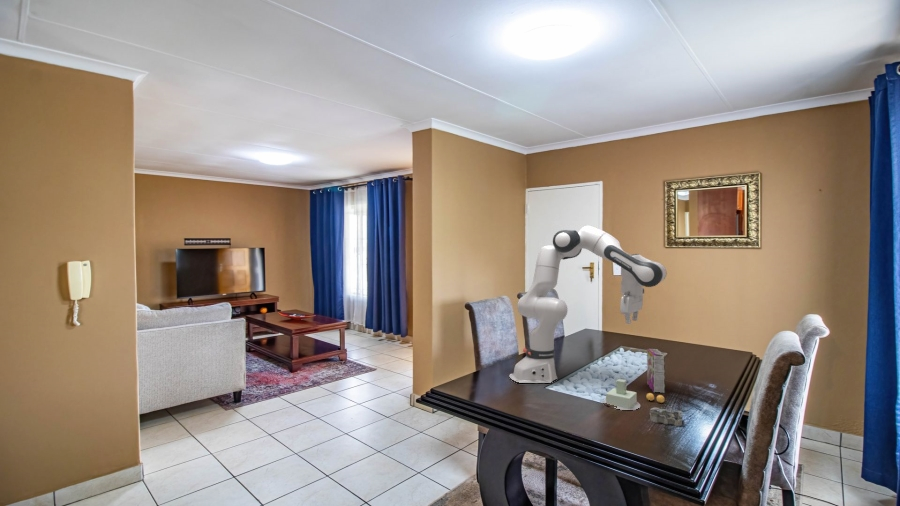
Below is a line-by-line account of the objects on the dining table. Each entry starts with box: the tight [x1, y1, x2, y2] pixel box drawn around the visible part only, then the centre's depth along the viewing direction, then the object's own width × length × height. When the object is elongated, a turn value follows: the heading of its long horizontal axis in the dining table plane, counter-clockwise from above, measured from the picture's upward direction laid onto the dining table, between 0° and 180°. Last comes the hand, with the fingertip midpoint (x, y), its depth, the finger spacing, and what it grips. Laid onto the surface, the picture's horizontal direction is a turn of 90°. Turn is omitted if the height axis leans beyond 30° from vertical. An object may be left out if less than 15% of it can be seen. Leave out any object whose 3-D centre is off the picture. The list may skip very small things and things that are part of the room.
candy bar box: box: [646, 348, 666, 394], centre depth 191 cm, size 11×5×16 cm, turn 168°
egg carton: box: [649, 406, 683, 427], centre depth 156 cm, size 11×8×4 cm
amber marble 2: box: [656, 394, 666, 404], centre depth 174 cm, size 3×3×3 cm
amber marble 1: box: [646, 392, 655, 402], centre depth 177 cm, size 3×3×3 cm
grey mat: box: [602, 397, 641, 411], centre depth 173 cm, size 14×14×1 cm
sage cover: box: [605, 378, 638, 409], centre depth 173 cm, size 9×9×9 cm
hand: (631, 321), depth 193 cm, fingers open, 8 cm apart
